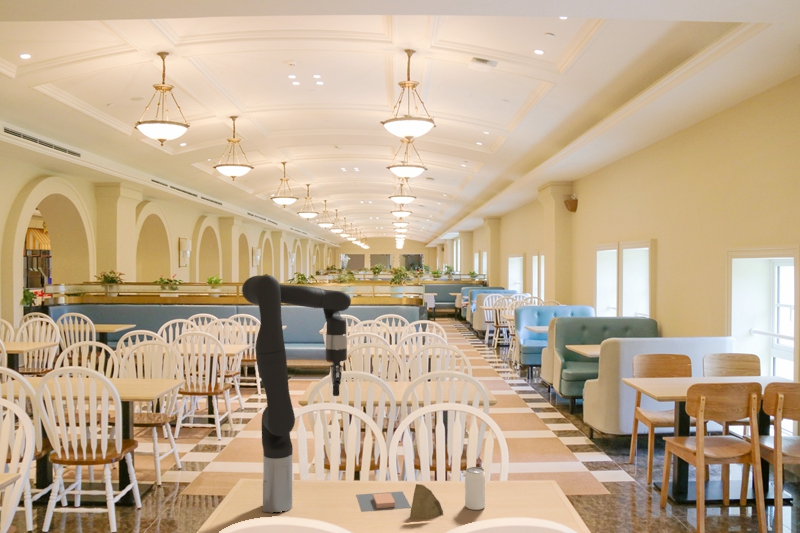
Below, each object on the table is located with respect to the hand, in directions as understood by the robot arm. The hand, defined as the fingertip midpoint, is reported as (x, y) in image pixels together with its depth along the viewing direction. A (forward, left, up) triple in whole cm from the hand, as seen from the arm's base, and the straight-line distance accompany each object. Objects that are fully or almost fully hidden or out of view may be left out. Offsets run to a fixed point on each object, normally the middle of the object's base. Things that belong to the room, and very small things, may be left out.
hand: (336, 395), depth 209 cm
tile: (+14, -16, -30) cm, 37 cm away
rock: (+26, -32, -32) cm, 52 cm away
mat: (+14, -18, -32) cm, 39 cm away
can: (+43, -27, -32) cm, 60 cm away
